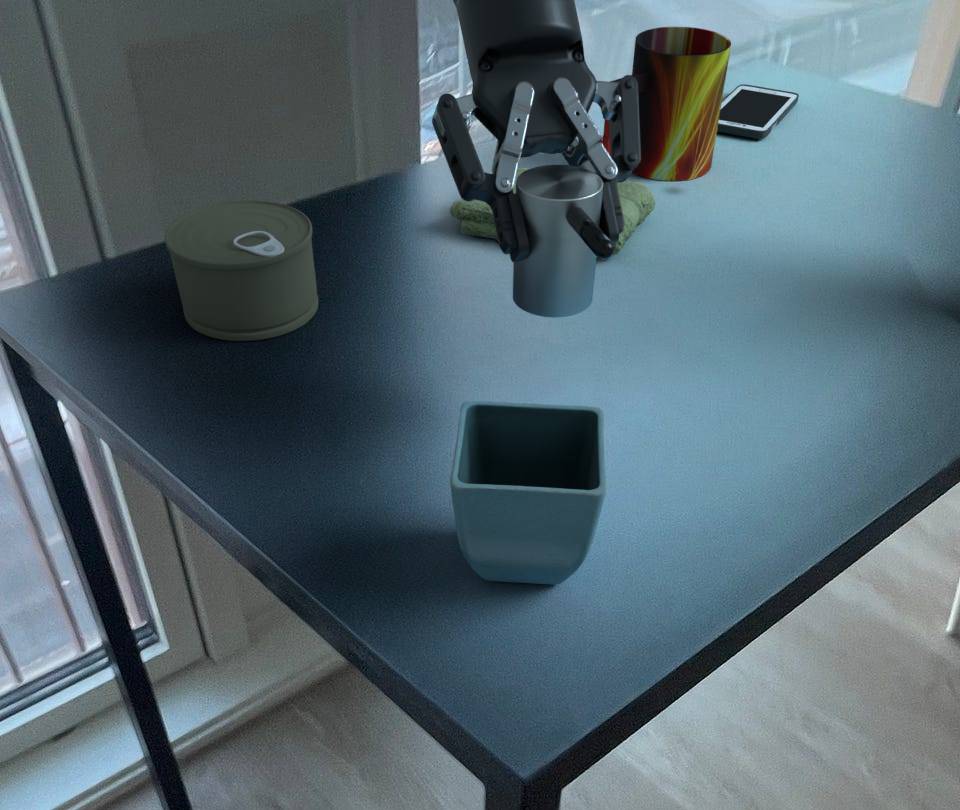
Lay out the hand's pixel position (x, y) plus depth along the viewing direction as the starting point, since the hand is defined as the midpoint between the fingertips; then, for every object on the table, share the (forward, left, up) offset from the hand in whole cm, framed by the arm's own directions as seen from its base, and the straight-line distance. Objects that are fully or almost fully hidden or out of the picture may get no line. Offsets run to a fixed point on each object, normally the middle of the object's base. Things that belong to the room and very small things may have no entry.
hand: (565, 250), depth 66 cm
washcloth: (-23, -26, -14) cm, 37 cm away
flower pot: (+11, +10, -14) cm, 21 cm away
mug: (-41, -30, -14) cm, 52 cm away
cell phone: (-61, -35, -14) cm, 71 cm away
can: (+9, -30, -14) cm, 34 cm away
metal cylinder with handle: (0, +1, -4) cm, 4 cm away
